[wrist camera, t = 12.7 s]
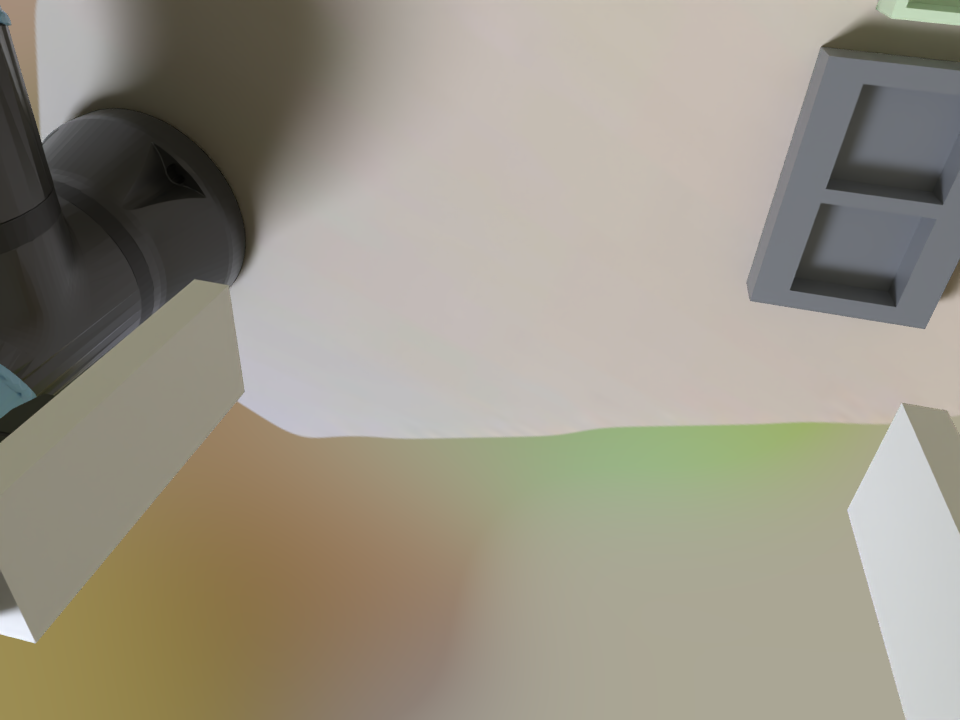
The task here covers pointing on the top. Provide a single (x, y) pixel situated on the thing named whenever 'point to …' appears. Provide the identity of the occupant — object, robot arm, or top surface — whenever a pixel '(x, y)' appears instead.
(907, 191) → the fuse holder
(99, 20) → the top surface
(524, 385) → the top surface
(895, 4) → the parts tray
